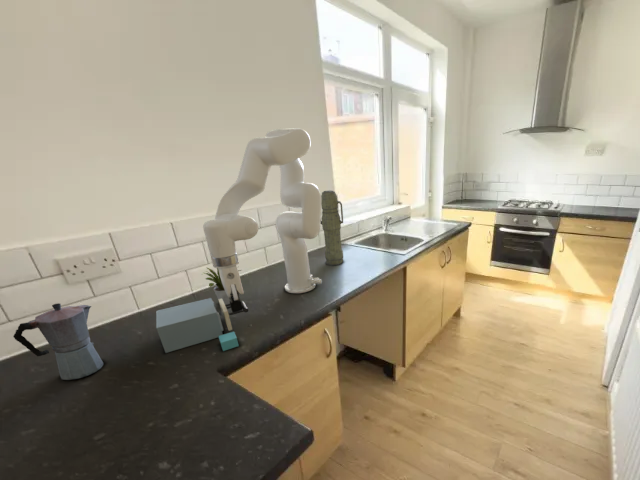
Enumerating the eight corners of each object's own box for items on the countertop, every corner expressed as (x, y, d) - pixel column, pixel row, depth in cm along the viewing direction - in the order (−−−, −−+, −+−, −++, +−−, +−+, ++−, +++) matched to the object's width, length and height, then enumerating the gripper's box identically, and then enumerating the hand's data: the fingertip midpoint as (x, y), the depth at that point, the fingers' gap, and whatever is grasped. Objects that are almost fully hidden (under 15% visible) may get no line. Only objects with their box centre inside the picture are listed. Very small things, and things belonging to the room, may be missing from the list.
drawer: (245, 310, 114) (241, 293, 111) (252, 324, 106) (248, 305, 103) (178, 328, 104) (172, 310, 101) (181, 344, 95) (174, 325, 93)
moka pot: (123, 358, 91) (95, 295, 83) (59, 394, 78) (18, 325, 70) (101, 352, 94) (72, 291, 86) (35, 386, 81) (-6, 318, 73)
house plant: (230, 314, 114) (219, 271, 107) (197, 310, 117) (185, 269, 110) (253, 296, 127) (245, 258, 120) (223, 294, 130) (213, 256, 123)
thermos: (323, 260, 165) (315, 190, 151) (346, 258, 166) (340, 189, 152) (322, 266, 157) (314, 193, 143) (346, 264, 158) (341, 192, 144)
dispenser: (217, 319, 111) (211, 297, 107) (223, 336, 101) (216, 312, 97) (164, 334, 103) (156, 310, 99) (165, 353, 93) (156, 328, 90)
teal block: (236, 339, 99) (233, 331, 98) (238, 346, 96) (236, 337, 94) (220, 344, 97) (218, 335, 95) (223, 351, 93) (220, 342, 92)
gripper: (242, 264, 96) (254, 317, 103) (233, 251, 107) (244, 300, 115) (215, 269, 92) (229, 324, 99) (209, 256, 103) (222, 306, 111)
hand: (237, 311), depth 107 cm, fingers closed
